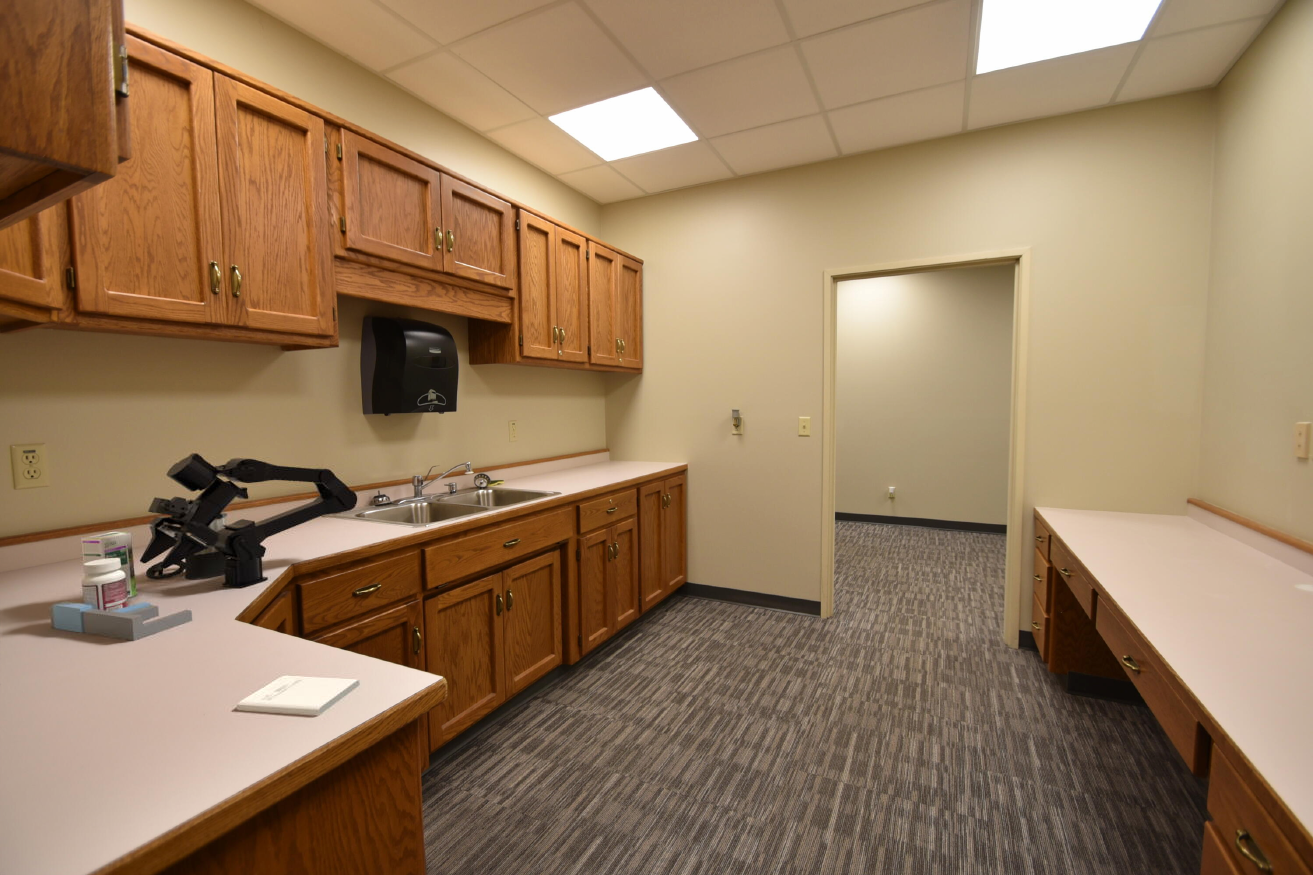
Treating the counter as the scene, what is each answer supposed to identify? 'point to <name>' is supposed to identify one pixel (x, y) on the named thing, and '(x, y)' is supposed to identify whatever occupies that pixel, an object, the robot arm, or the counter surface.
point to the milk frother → (197, 561)
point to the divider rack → (114, 620)
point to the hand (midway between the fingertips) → (151, 565)
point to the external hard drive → (298, 695)
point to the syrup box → (112, 553)
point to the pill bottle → (104, 585)
